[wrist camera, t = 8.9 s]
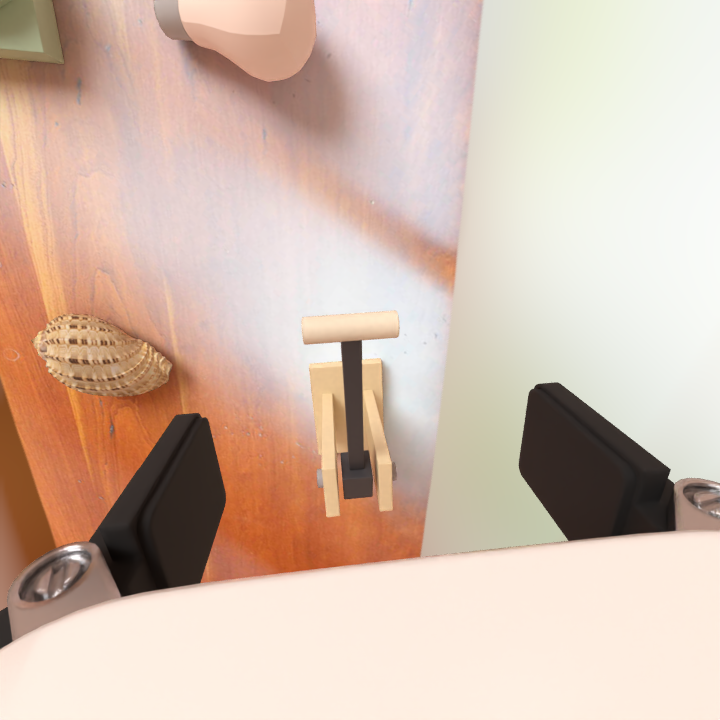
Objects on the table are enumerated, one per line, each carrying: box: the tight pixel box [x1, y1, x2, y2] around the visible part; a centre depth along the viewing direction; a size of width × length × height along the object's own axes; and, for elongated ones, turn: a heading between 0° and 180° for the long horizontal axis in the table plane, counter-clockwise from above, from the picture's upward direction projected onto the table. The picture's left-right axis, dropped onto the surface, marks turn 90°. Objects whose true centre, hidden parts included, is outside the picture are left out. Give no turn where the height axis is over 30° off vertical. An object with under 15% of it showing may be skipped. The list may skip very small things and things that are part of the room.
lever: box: [302, 311, 399, 499], centre depth 25 cm, size 16×5×2 cm, turn 3°
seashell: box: [31, 314, 172, 396], centre depth 33 cm, size 8×6×10 cm
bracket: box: [309, 358, 397, 517], centre depth 34 cm, size 10×7×13 cm
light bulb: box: [154, 0, 316, 82], centre depth 25 cm, size 7×7×11 cm
